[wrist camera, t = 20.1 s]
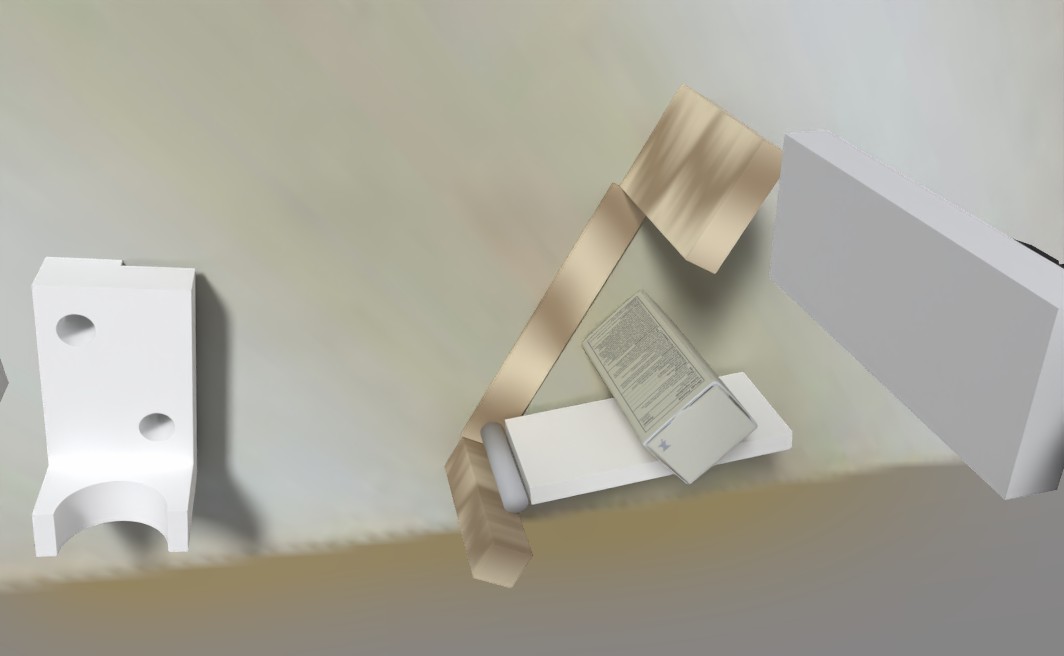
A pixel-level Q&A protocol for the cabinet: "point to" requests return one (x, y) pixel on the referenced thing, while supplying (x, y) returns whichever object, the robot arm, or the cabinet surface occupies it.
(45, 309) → the bracket
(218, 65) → the cabinet surface
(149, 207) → the cabinet surface
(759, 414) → the door
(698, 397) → the box
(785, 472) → the cabinet surface
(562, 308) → the door frame
